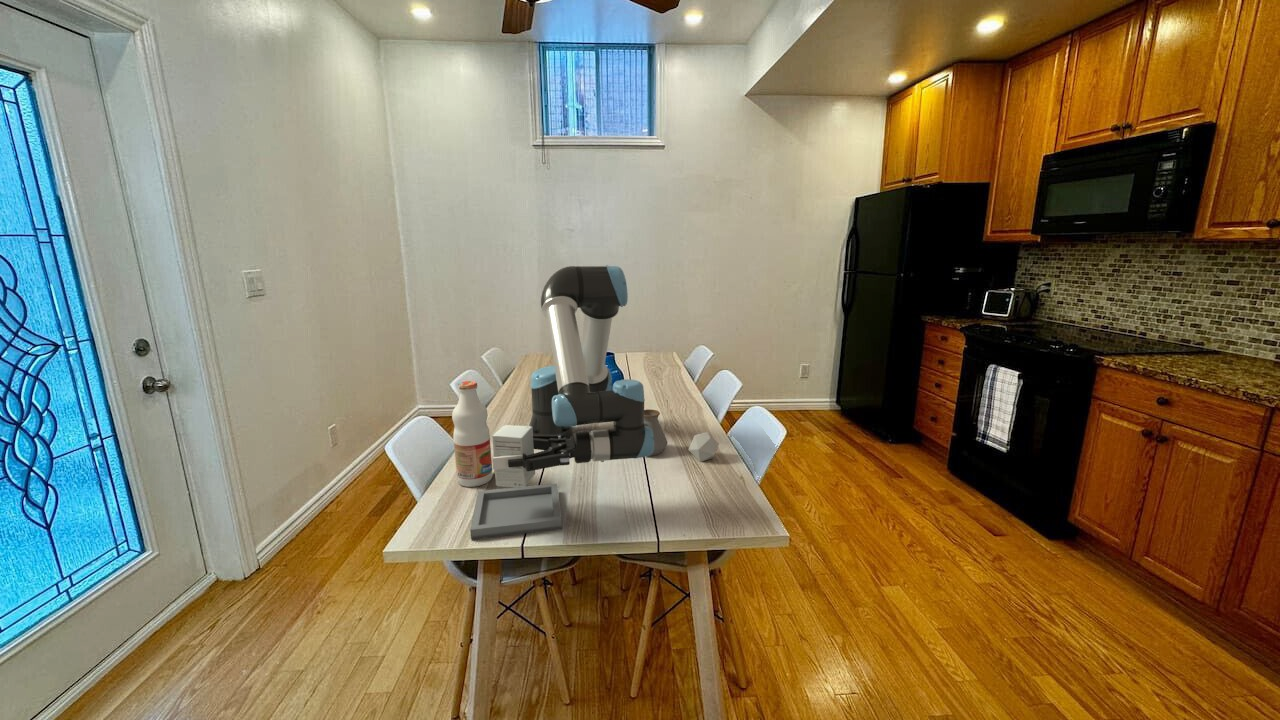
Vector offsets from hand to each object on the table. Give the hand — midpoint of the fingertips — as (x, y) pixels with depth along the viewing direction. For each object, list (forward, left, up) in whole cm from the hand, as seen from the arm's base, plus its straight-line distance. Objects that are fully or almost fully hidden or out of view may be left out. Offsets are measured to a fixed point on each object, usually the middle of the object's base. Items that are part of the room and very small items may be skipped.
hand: (494, 454), depth 116 cm
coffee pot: (-26, +42, -16) cm, 52 cm away
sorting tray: (0, +5, -16) cm, 17 cm away
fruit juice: (-21, -7, -16) cm, 28 cm away
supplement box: (0, +5, -7) cm, 9 cm away
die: (-21, +60, -16) cm, 65 cm away
